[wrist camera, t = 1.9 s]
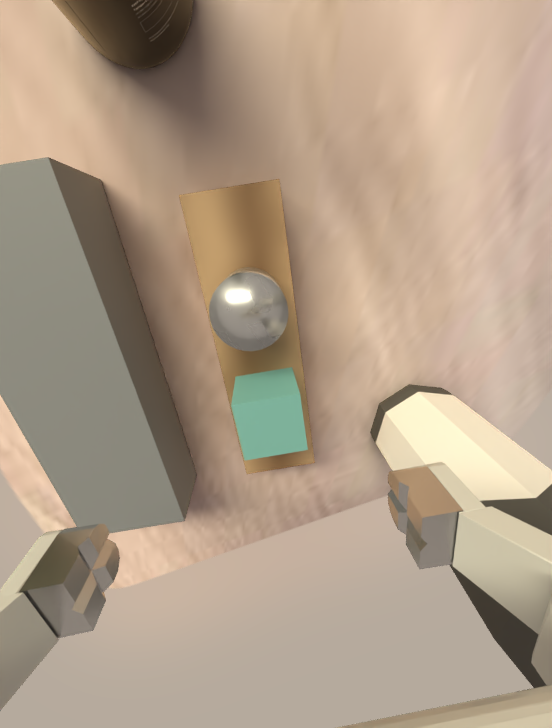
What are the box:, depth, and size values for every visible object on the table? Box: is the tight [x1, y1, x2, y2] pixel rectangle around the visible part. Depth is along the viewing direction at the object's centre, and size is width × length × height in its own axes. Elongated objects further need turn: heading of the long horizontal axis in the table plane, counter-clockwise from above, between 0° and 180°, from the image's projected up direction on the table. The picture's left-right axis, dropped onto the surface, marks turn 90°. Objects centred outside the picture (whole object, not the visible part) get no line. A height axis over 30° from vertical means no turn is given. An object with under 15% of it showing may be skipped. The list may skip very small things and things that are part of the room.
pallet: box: [179, 179, 315, 474], centre depth 22 cm, size 6×20×4 cm, turn 9°
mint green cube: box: [231, 367, 308, 460], centre depth 19 cm, size 4×4×4 cm
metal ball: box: [209, 267, 288, 351], centre depth 17 cm, size 4×4×4 cm
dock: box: [0, 157, 197, 533], centre depth 20 cm, size 8×24×5 cm, turn 9°
